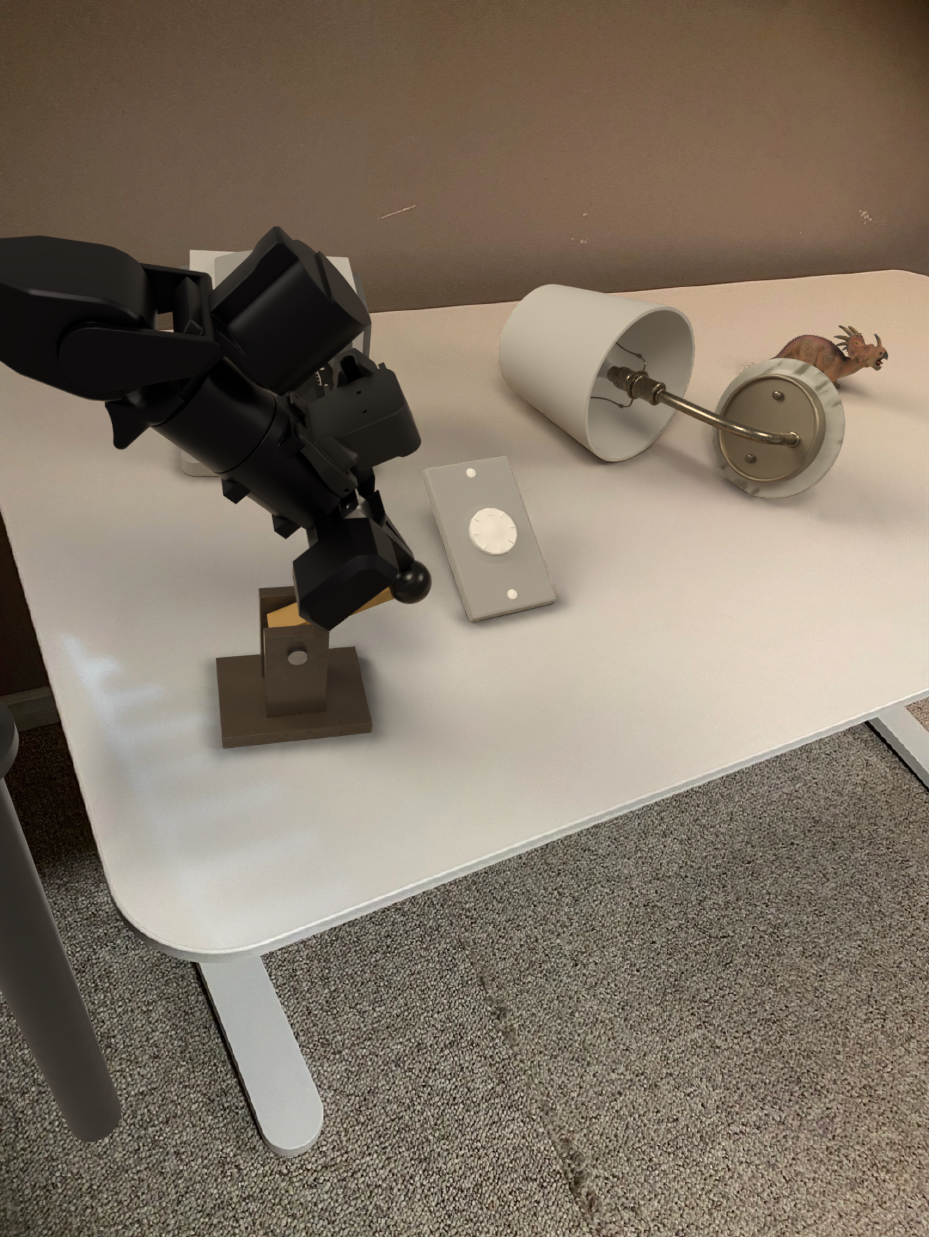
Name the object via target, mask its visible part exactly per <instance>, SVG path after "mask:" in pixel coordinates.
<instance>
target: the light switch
mask: <svg viewBox="0 0 929 1237" xmlns="http://www.w3.org/2000/svg"><path fill="white" fill-rule="evenodd" d="M420 477H421V479H422V483H423V486H424V489H425V492H426V495H427V497H428V501H429V504H430V506H431V510H432V513H433V516H434V519H435V522H436V525H437V528H438V531H439V534H440V537H441V540H442V543H443V546H444V549H445V552H446V555H447V559H448V561H449V564H450V567H451V570H452V571H451V572H452V574H453V577H454V580H455V583H456V586H457V589H458V592H459V594H460V598H461V601H462V604H463V608H464V609H465V613H466V617H467V620H468V622H469V623H476V622H477V623H478V622H481V621H485V620H489V619H494V618H497V617H501V616H505V615H510V614H513V613H514V614H515V613H518V612H522V611H527V610H530V609H534V608H539V607H544V606H547V605H552V604H553V603H554V602H555V601H557V599H558V597H557V594H556V591H555V588H554V585H553V582H552V579H551V576H550V574H549V570H548V569H547V568H548V567H547V565H546V562H545V559H544V557H543V554H542V550H541V549H540V546H539V543H538V542H539V541H538V540H537V537H536V534H535V531H534V529H533V525H532V522H531V519H530V517H529V514H528V510H527V508H526V505H525V502H524V499H523V497H522V494H521V491H520V488H519V485H518V483H517V480H516V476H515V474H514V471H513V468H512V466H511V462H510V459H509V457H508V456H507V455H499V456H493V457H488V458H481V459H475V460H468V461H462V462H456V463H451V464H445V465H438V466H433V467H432V466H431V467H427V468H424V469H423V470H422V471H421V475H420Z"/></svg>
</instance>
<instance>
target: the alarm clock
mask: <svg viewBox="0 0 929 1237" xmlns="http://www.w3.org/2000/svg"><path fill="white" fill-rule="evenodd" d="M252 251H253V249H249V250H243V251H224V250H222V251H221V250H220V251H219V250H201V249H189V264H179V269H186V270H193V271H199V272H206V273H208V274H209V275H210V276H211V277H212V285H213V290H214V289H215V288H216V287H217V286H218V285H219V284H220V283H221V282H222V281H223V280H224V279H225V278H226V277H227V276H228V275H229V274H230V273H232V272H233V271H234V270H235V269H236V268H237V267H238V266H239V265H240V264H241V263H242V262H243V261H244V260H245V259H246V258H247V257H248V256H249V255H250V254H251V253H252ZM325 256H326V255H325ZM326 257H327V258H328V259H329V261H330V262H331V263H332V264H333V265H334V266H335V267H336V268H337V269H338V271H339V272H340V273H341V274H342V275H343V277H344V278H345V279H346V280H347V282H348V283H349V284H350V286H351V287H352V288H353V290H354V291H355V292H356V294H357V295H358V297H359V298H360V300H361V302H362V303H363V305H364V306H365V308H366V310H367V312H368V314H369V317H370V320H371V325H370V326H369V327H368V328H367V329H365V330H364V331H363V332H362V333H361V334H360V335H359V336H357V337H356V338H355V339H354V340H353V341H352V342H351V343H349V344H348V345H347V346H346V347H345V348H344V349H343V350H341V351H340V352H339V353H338V354H340V353H343V352H345V351H347V350H350V349H352V348H356V349H357V350H359V351H360V352H361V353H363V354H364V355H366V356H367V357H368V358H370V354H371V338H372V324H373V322H372V319H371V314H370V311H369V307H368V303H367V300H366V295H365V291H364V288H363V283H362V279H361V275H360V272H352V268H351V264H350V260H349V257H348V256H347V257H345V256H344V257H343V256H326ZM338 354H337V355H338ZM333 369H334V358H332V359H331V360H330V361H329V362H328V363H327V364H326V365H324V366H323V367H322V368H321V369H320V370H319V371H318V372H316V373H315V374H314V375H313V376H312V377H311V378H310V379H308V380H307V381H306V382H305V383H304V384H303V385H302V386H300V387H299V388H298V389H297V390H296V391H288V393H289V394H290V393H291V392H294V393H296V394H297V395H298V396H299V397H302V396H303V395H304V394H305V393H307V392H308V391H309V390H310V389H311V388H312V387H313V386H316V385H334V383H333ZM267 390H268V389H267ZM268 391H269V392H270V393H271V394H273V395H274V396H275V397H276V396H277V394H275V393H273V392H271V391H270V390H268ZM180 462H181V471H183V472H184V474H186V475H188V476H191V477H219V476H218V475H217V474H215V473H214V472H212V471H211V470H210V469H208V468H207V467H206V466H204V465H203V464H201V463H200V462H199V461H197V460H196V459H194V458H193V457H192V456H190V455H189V454H187V453H186V452H185V451H183V450H182V449H180Z"/></svg>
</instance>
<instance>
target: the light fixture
mask: <svg viewBox="0 0 929 1237" xmlns="http://www.w3.org/2000/svg"><path fill="white" fill-rule="evenodd" d="M497 356H498V367H499V372H500V375H501V377H502V380H503V381H504V383H505V385H506V386H507V387H509V389H510V390H511V391H512V392H514V393H515V394H516V395H518V396H519V397H520V398H522V399H523V400H524V401H525V402H527V403H528V404H529V405H531V407H533V408H534V409H536V410H537V411H539V412H540V413H541V415H543V416H545V417H546V418H547V419H548V420H550V421H551V422H552V423H554V424H555V425H556V426H558V427H559V428H560V429H561V430H563V431H564V432H565V433H567V434H568V435H569V436H570V437H572V438H573V439H574V440H576V441H577V443H579V444H580V445H581V446H583V447H585V449H587V450H588V451H589V452H591V453H592V454H594V455H595V456H597V457H598V458H600V459H601V460H603V461H607V462H613V463H617V462H624V461H627V460H629V459H631V458H634V457H636V456H637V455H638V454H641V453H642V452H643V451H645V450H646V449H647V448H648V447H650V446H651V445H653V443H654V442H655V441H656V440H657V439H658V438H659V436H660V435H661V434H662V433H663V432H664V431H665V430H666V428H667V427H668V425H669V424H670V422H671V421H672V420H673V418H674V417H675V415H676V414H677V411H678V412H681V413H683V414H685V415H688V416H690V417H691V418H693V419H696V420H698V421H700V422H702V423H704V424H707V425H709V426H711V441H712V442H711V443H712V447H713V448H712V449H713V452H714V455H715V458H716V461H717V463H718V465H719V467H720V469H721V470H722V472H723V474H724V475H725V476H726V477H727V479H728V480H729V481H730V482H731V483H732V484H733V485H735V486H736V487H737V488H739V489H740V490H741V491H743V492H745V493H746V494H750V495H751V496H754V497H758V498H764V499H770V500H771V499H772V500H773V499H774V500H775V499H785V498H790V497H793V496H796V495H800V494H802V493H804V492H806V491H808V490H809V489H811V488H813V487H814V486H815V485H816V484H818V483H819V482H820V481H821V480H822V479H823V478H824V477H825V476H826V475H827V474H828V473H829V471H830V470H831V469H832V468H833V466H834V465H835V463H836V461H837V459H838V457H839V454H840V451H841V450H842V447H843V444H844V439H845V434H846V413H845V408H844V403H843V400H842V398H841V396H840V392H839V391H838V388H836V387H835V386H834V384H833V383H832V382H831V380H830V379H829V378H828V377H827V376H826V375H825V374H824V373H823V372H821V371H820V370H819V369H817V368H816V367H814V366H812V365H810V364H808V363H806V362H803V361H800V360H796V359H789V358H776V359H771V358H769V359H770V360H769V359H765V360H761V361H760V362H757V363H755V364H753V365H751V366H749V367H747V368H746V369H744V370H743V371H741V372H740V373H739V374H738V375H737V376H736V377H734V379H733V380H732V381H731V382H730V383H729V384H728V385H727V387H726V388H725V389H724V391H723V392H722V394H721V396H720V398H719V400H718V403H717V405H716V408H715V410H714V411H711V410H709V409H707V408H704V407H703V406H701V405H698V404H696V403H694V402H692V401H689V400H687V399H685V398H684V397H685V395H686V393H687V390H688V388H689V384H690V381H691V379H692V374H693V369H694V365H695V357H696V339H695V333H694V328H693V325H692V322H691V321H690V319H689V317H688V316H687V315H686V313H685V312H684V311H683V310H681V309H679V308H678V307H675V306H672V305H669V304H662V303H658V302H652V301H648V300H642V299H638V298H631V297H627V296H621V295H616V294H611V293H605V292H600V291H596V290H590V289H585V288H580V287H574V286H569V285H564V284H557V283H556V284H555V283H548V284H544V285H541V286H539V287H536V288H535V289H533V290H532V291H530V292H528V294H526V295H525V296H524V297H523V298H522V299H521V300H520V301H519V302H518V304H517V305H516V306H515V307H514V309H513V310H512V312H511V313H510V315H509V316H508V318H507V320H506V322H505V324H504V327H503V330H502V332H501V336H500V339H499V345H498V354H497Z"/></svg>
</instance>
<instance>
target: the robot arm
mask: <svg viewBox="0 0 929 1237" xmlns="http://www.w3.org/2000/svg"><path fill="white" fill-rule="evenodd" d="M252 250H253V251H252V253H251V254H250V255H249V256H248V257H247V258H246V259H245V260H244V261H243V262H242V263H241V264H240V265H239V266H238V267H237V268H236V269H235V270H234V271H233V272H232V273H230V274H229V275H228V276H227V277H226V278H225V279H224V280H223V281H222V282H221V283H220V284H219V285H218V286H217V287H216V288H215V289H214V290H213V285H212V277H211V276H210V275H209V274H208V273H206V272H199V271H193V270H186V269H180V267H179V268H178V267H173V266H166V265H158V264H152V263H146V262H145V263H144V262H139V261H138V260H136V259H135V258H134V257H133V256H132V255H130V254H129V253H127V252H125V251H123V250H120V248H117V247H115V246H112V245H108V244H103V243H97V242H90V241H84V240H75V239H69V238H63V237H56V236H55V237H54V236H49V235H42V234H41V235H40V234H39V235H24V236H12V237H1V238H0V363H2V364H3V365H4V366H6V367H8V368H9V369H10V370H12V371H13V372H15V373H16V374H18V375H20V376H23V377H25V378H28V379H30V380H33V381H36V382H38V383H41V384H43V385H46V386H49V387H52V388H54V389H57V390H58V391H61V392H63V393H66V394H70V395H72V396H75V397H76V398H77V397H78V398H81V399H84V400H88V401H92V402H104V407H105V409H106V411H107V414H108V416H109V419H110V423H111V428H112V429H111V430H112V445H113V447H114V448H115V449H117V450H120V451H123V450H126V449H127V448H128V447H130V446H131V444H132V443H134V442H135V441H136V440H137V439H138V438H139V437H140V436H142V435H143V433H145V432H146V431H147V430H148V429H149V428H150V429H153V430H154V431H155V432H157V433H158V434H159V435H161V436H162V437H163V438H165V439H166V440H168V442H170V443H172V444H173V445H175V446H176V447H178V448H179V450H181V449H182V450H183V451H185V452H186V453H187V454H189V455H190V456H192V457H193V458H194V459H196V460H197V461H199V462H200V463H201V464H203V465H204V466H206V467H207V468H208V469H210V470H211V471H212V472H214V473H215V474H217V475H218V476H217V477H219V478H220V480H221V481H220V482H221V490H222V496H223V498H226V499H227V500H229V502H231V503H233V505H238V504H239V503H240V502H241V501H242V500H243V499H244V498H246V497H247V498H249V499H250V500H251V501H253V502H255V503H256V504H257V505H259V506H260V507H261V508H262V509H264V510H265V511H267V512H268V513H270V515H271V520H272V527H273V532H274V533H276V534H277V535H279V536H280V537H281V538H283V539H284V540H287V539H288V538H290V537H291V536H292V535H293V534H294V533H296V532H297V531H298V530H299V529H301V528H302V529H303V530H305V534H306V539H307V544H308V548H307V549H306V550H305V551H304V552H302V553H301V554H300V555H298V556H297V557H296V558H294V560H292V582H293V586H294V589H295V595H296V601H297V607H298V613H299V617H301V618H303V619H304V620H306V621H307V622H309V623H311V624H312V625H314V626H315V627H317V628H319V629H320V630H324V631H329V632H331V631H332V630H333V629H335V628H336V627H337V626H339V625H340V624H341V623H343V622H344V621H345V620H347V619H349V617H351V616H350V615H352V614H353V613H354V612H356V611H357V610H358V609H360V608H361V607H362V606H364V605H365V604H366V603H368V602H369V601H370V600H372V599H373V598H374V597H376V596H377V595H378V594H380V593H381V592H382V591H384V590H385V589H386V588H388V587H389V586H390V585H392V584H393V583H394V581H395V579H396V577H397V575H398V573H399V569H405V568H407V567H408V566H410V565H411V564H412V563H414V561H415V560H416V558H415V556H414V553H413V551H412V549H411V548H410V547H409V545H408V543H407V542H406V540H405V539H404V538H403V536H402V534H401V533H400V531H399V530H398V529H397V527H396V526H395V524H394V523H393V522H392V520H391V519H390V517H389V516H388V514H387V512H386V509H385V506H384V503H383V502H384V501H383V499H382V496H381V492H380V489H376V474H375V471H374V467H376V466H379V465H382V464H384V463H386V462H389V461H391V460H393V459H396V458H398V457H399V458H405V457H408V456H411V455H412V454H414V453H416V452H417V450H418V449H419V448H420V447H421V445H422V437H421V434H420V432H419V429H418V427H417V424H416V421H415V419H414V415H413V412H412V410H411V408H410V406H409V403H408V401H407V399H406V397H405V394H404V391H403V389H402V386H401V384H400V382H399V380H398V377H397V375H396V373H395V372H394V371H393V370H392V369H390V368H388V367H387V366H386V364H385V362H384V361H383V362H380V363H378V364H376V363H375V362H376V361H373V359H371V358H370V357H369V358H368V357H367V356H366V355H364V354H363V353H361V352H360V351H359V350H357V349H356V348H352V349H350V350H347V351H345V352H343V353H340V354H338V353H339V352H340V351H341V350H343V349H344V348H345V347H346V346H347V345H348V344H349V343H351V342H352V341H353V340H354V339H355V338H356V337H357V336H359V335H360V334H361V333H362V332H363V331H364V330H365V329H367V328H368V327H369V326H370V325H371V322H372V319H371V320H370V318H371V316H370V317H369V314H370V313H369V314H368V312H367V310H366V308H365V306H364V305H363V303H362V302H361V300H360V298H359V297H358V295H357V294H356V292H355V291H354V290H353V288H352V287H351V286H350V284H349V283H348V282H347V280H346V279H345V278H344V277H343V275H342V274H341V273H340V272H339V271H338V269H337V268H336V267H335V266H334V265H333V264H332V263H331V262H330V261H329V259H328V258H327V257H328V256H327V257H326V255H325V254H324V253H323V252H322V251H321V250H318V251H315V250H314V249H313V248H312V247H311V246H309V245H308V244H306V242H304V241H302V240H300V239H292V237H291V236H290V235H289V234H288V233H287V232H286V231H285V230H284V229H283V228H282V227H281V226H278V225H277V226H276V225H274V226H272V227H271V229H269V230H268V231H267V232H266V233H265V234H264V235H263V236H262V237H261V238H260V239H259V241H258V242H257V243H256V245H255V246H254V248H253V249H252ZM168 313H171V314H172V330H173V331H169V330H168V331H166V330H160V329H159V316H158V315H163V314H168ZM337 354H338V355H337ZM332 358H334V369H333V383H334V385H316V386H313V387H312V388H311V389H310V390H309V391H308V392H307V393H305V394H304V395H303V396H302V397H299V396H298V395H297V394H296V393H294V392H291V393H290V394H289V393H288V391H296V390H297V389H298V388H299V387H300V386H302V385H303V384H304V383H305V382H306V381H307V380H308V379H310V378H311V377H312V376H313V375H314V374H315V373H316V372H318V371H319V370H320V369H321V368H322V367H323V366H324V365H326V364H327V363H328V362H329V361H330V360H331V359H332ZM267 389H268V390H270V391H271V392H273V393H275V394H277V396H276V397H275V396H274V395H273V394H271V393H270V392H269V391H268V390H267ZM352 616H353V615H352Z"/></svg>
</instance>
